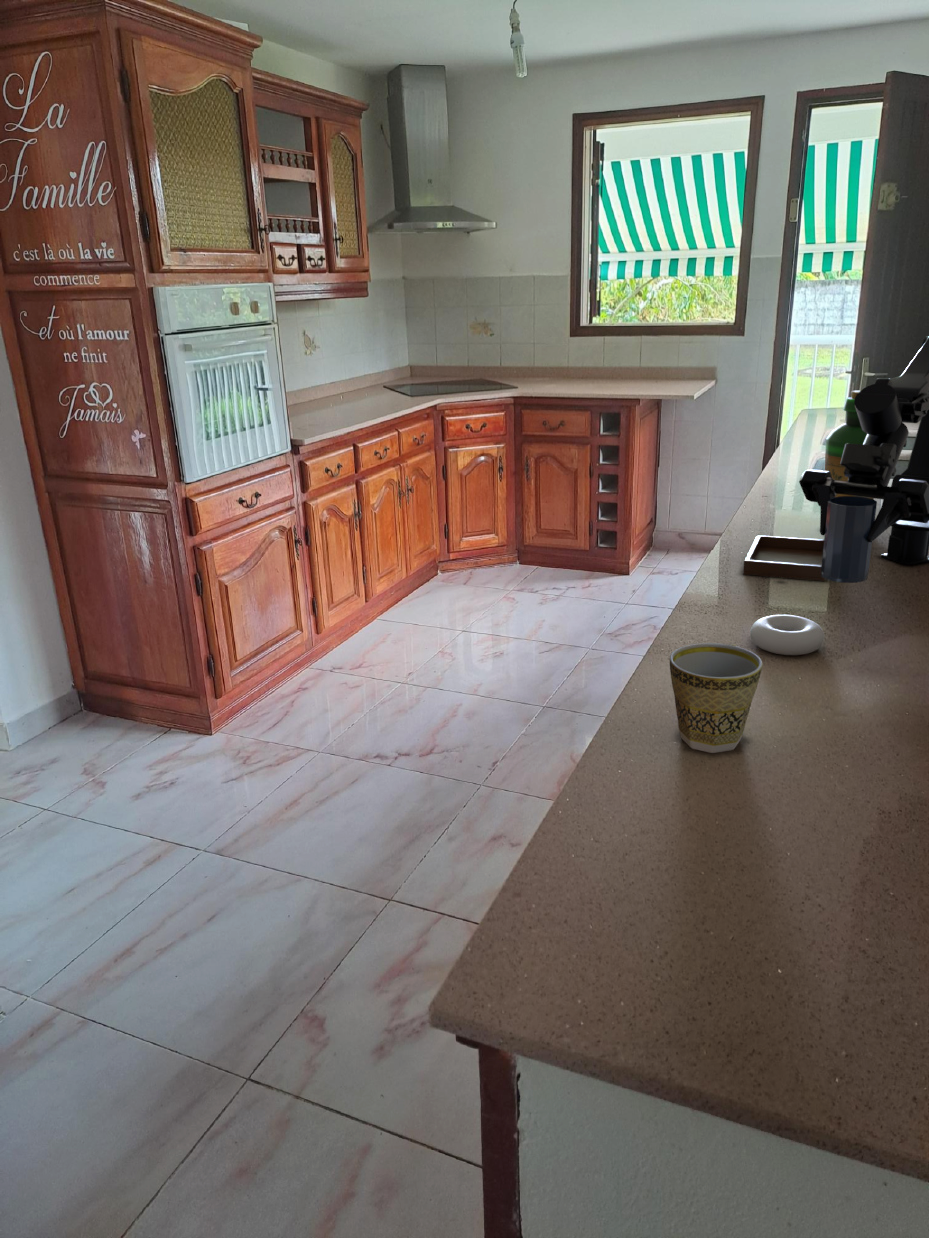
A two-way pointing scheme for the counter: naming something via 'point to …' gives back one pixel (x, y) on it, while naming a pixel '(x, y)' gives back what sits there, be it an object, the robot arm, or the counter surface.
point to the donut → (787, 634)
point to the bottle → (843, 440)
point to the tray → (785, 558)
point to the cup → (848, 539)
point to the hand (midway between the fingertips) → (845, 537)
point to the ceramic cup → (713, 693)
